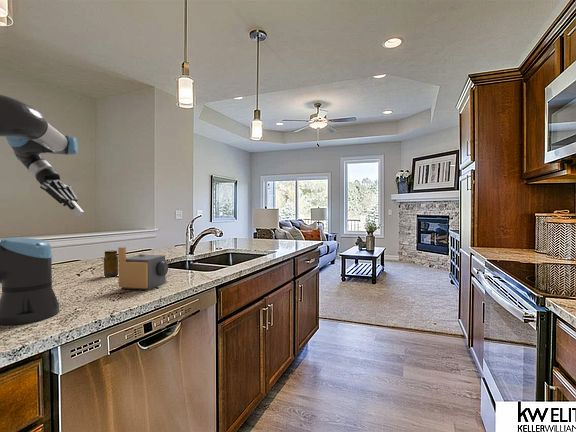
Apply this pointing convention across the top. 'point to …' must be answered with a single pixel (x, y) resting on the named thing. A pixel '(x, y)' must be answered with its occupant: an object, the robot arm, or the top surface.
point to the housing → (152, 269)
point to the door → (132, 272)
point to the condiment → (111, 264)
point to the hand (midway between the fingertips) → (80, 214)
